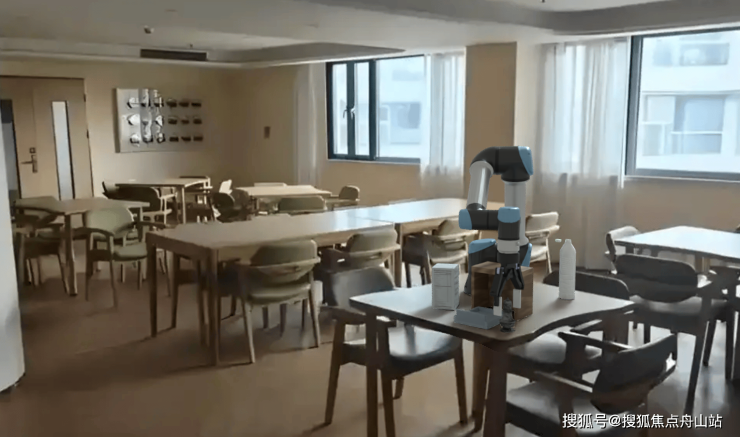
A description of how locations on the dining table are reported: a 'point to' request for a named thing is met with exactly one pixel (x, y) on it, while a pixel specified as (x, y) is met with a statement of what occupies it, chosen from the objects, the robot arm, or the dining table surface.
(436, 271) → the supplement box
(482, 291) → the wooden crate
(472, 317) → the tray
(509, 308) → the dark grey figurine
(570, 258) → the water bottle
